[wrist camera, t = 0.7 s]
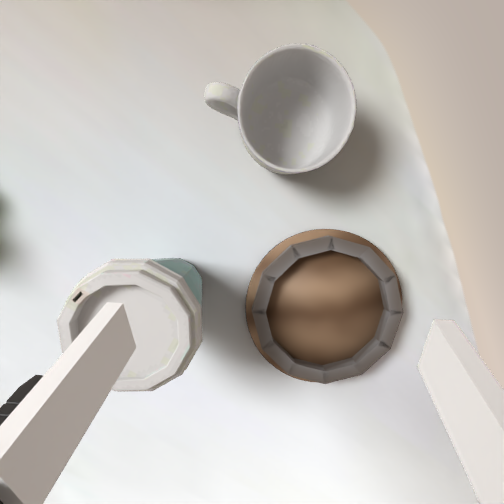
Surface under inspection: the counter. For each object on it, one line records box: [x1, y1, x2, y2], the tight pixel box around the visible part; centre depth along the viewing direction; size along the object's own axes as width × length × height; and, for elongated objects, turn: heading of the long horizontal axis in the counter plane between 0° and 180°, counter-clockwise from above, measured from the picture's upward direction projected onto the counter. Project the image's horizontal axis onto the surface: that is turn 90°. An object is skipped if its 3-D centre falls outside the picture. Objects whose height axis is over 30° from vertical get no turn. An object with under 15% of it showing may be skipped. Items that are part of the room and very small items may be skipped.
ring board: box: [246, 229, 403, 384], centre depth 35 cm, size 19×19×2 cm
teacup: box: [204, 43, 356, 174], centre depth 30 cm, size 14×11×8 cm
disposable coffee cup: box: [57, 258, 203, 391], centre depth 28 cm, size 11×11×15 cm
